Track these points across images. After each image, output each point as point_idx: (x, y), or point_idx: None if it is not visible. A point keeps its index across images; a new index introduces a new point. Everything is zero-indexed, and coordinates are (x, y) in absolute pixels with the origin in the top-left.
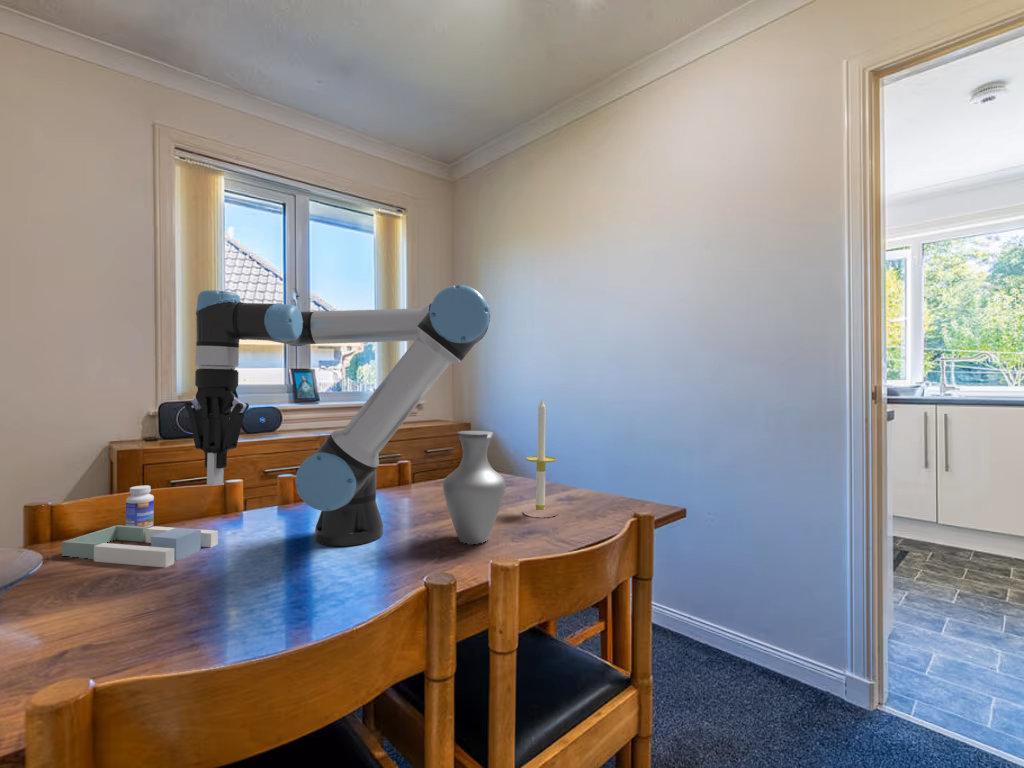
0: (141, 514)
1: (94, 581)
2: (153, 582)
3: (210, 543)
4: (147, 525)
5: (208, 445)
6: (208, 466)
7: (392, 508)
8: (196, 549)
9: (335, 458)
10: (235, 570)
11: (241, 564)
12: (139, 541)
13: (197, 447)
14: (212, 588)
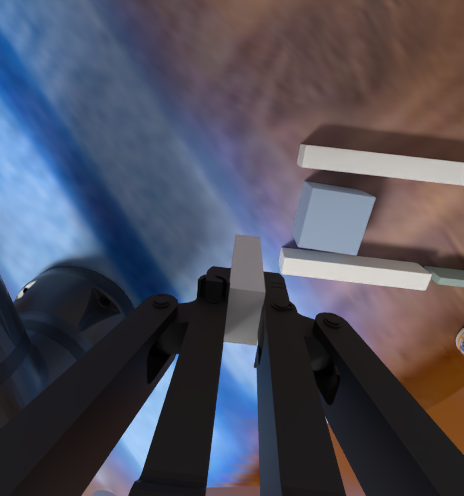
0: None
1: (390, 62)
2: (275, 69)
3: (283, 249)
4: (461, 334)
5: (265, 317)
6: (256, 262)
7: None
8: (294, 226)
9: None
10: (167, 143)
11: (175, 172)
12: (431, 266)
13: (330, 315)
14: (150, 53)
